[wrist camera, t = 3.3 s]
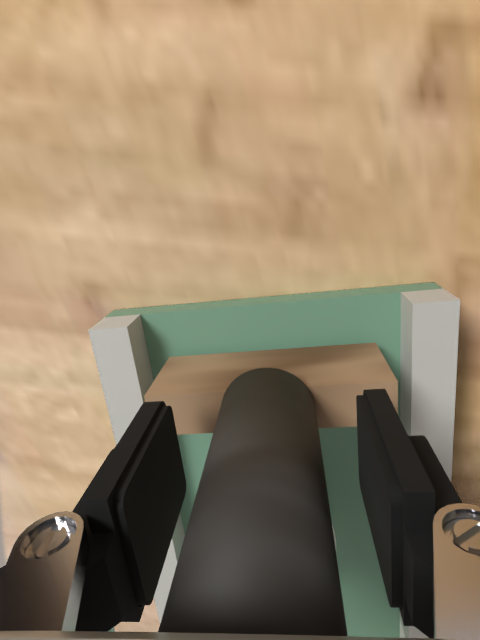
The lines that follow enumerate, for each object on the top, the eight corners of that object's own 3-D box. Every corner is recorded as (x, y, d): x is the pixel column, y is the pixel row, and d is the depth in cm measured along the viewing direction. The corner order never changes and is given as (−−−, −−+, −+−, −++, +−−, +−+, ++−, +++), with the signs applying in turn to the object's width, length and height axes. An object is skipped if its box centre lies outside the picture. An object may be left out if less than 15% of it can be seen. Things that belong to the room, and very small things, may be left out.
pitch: (434, 282, 16) (480, 313, 12) (422, 695, 23) (449, 795, 20) (114, 310, 18) (68, 345, 14) (197, 687, 25) (182, 777, 21)
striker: (375, 323, 15) (580, 644, 5) (376, 395, 16) (550, 798, 6) (166, 339, 16) (-48, 631, 6) (178, 406, 17) (14, 762, 7)
